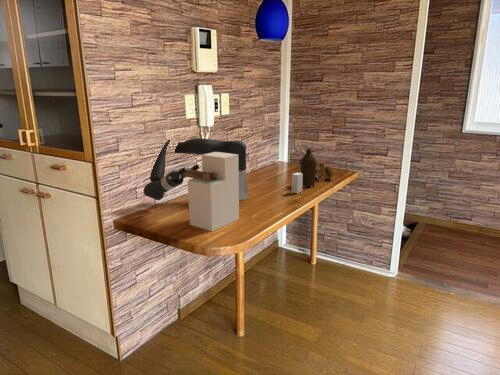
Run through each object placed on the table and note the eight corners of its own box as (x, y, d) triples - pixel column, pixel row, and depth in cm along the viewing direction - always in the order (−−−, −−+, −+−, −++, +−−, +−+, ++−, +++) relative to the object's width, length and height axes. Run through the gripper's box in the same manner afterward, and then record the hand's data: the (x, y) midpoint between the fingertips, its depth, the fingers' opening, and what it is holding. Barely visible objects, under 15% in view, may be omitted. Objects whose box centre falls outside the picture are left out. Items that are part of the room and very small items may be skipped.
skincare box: (296, 191, 230) (297, 172, 227) (302, 192, 227) (303, 173, 224) (291, 193, 225) (291, 174, 222) (297, 194, 223) (297, 175, 220)
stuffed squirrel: (311, 178, 262) (312, 160, 258) (331, 177, 263) (332, 159, 260) (315, 181, 252) (316, 162, 249) (335, 181, 254) (336, 162, 250)
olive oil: (317, 184, 244) (318, 147, 238) (313, 188, 235) (315, 149, 228) (301, 183, 248) (302, 146, 242) (297, 187, 239) (298, 148, 232)
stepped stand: (217, 213, 190) (215, 151, 182) (239, 218, 182) (238, 154, 174) (189, 224, 174) (186, 158, 166) (212, 231, 167) (209, 161, 158)
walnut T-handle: (186, 173, 180) (185, 167, 179) (217, 179, 169) (216, 173, 168) (176, 176, 175) (176, 169, 175) (208, 182, 164) (208, 175, 163)
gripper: (157, 176, 177) (177, 162, 167) (179, 170, 188) (199, 158, 178) (164, 190, 177) (184, 177, 167) (185, 184, 188) (205, 172, 178)
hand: (191, 167), depth 172 cm, fingers open, 8 cm apart
